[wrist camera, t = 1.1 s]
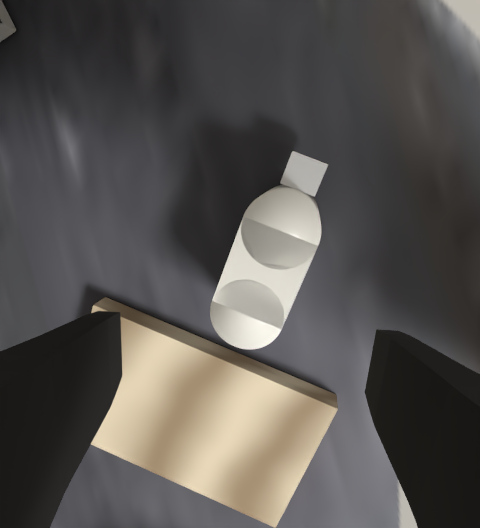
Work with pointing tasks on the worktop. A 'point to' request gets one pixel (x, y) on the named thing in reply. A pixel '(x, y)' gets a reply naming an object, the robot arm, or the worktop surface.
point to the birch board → (211, 417)
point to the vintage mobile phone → (5, 23)
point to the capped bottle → (269, 258)
